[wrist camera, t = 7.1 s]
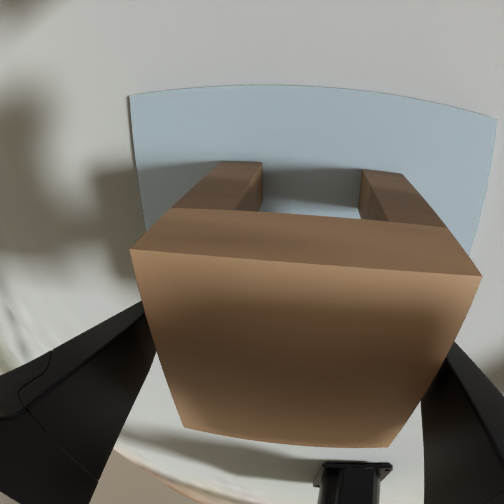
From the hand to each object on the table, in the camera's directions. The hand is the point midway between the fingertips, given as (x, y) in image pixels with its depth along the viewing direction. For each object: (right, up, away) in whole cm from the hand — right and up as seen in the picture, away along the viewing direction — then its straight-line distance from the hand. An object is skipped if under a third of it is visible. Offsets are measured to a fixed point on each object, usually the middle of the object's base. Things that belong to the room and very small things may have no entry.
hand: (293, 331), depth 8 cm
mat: (+1, +3, +4) cm, 5 cm away
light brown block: (+1, +2, +4) cm, 5 cm away
